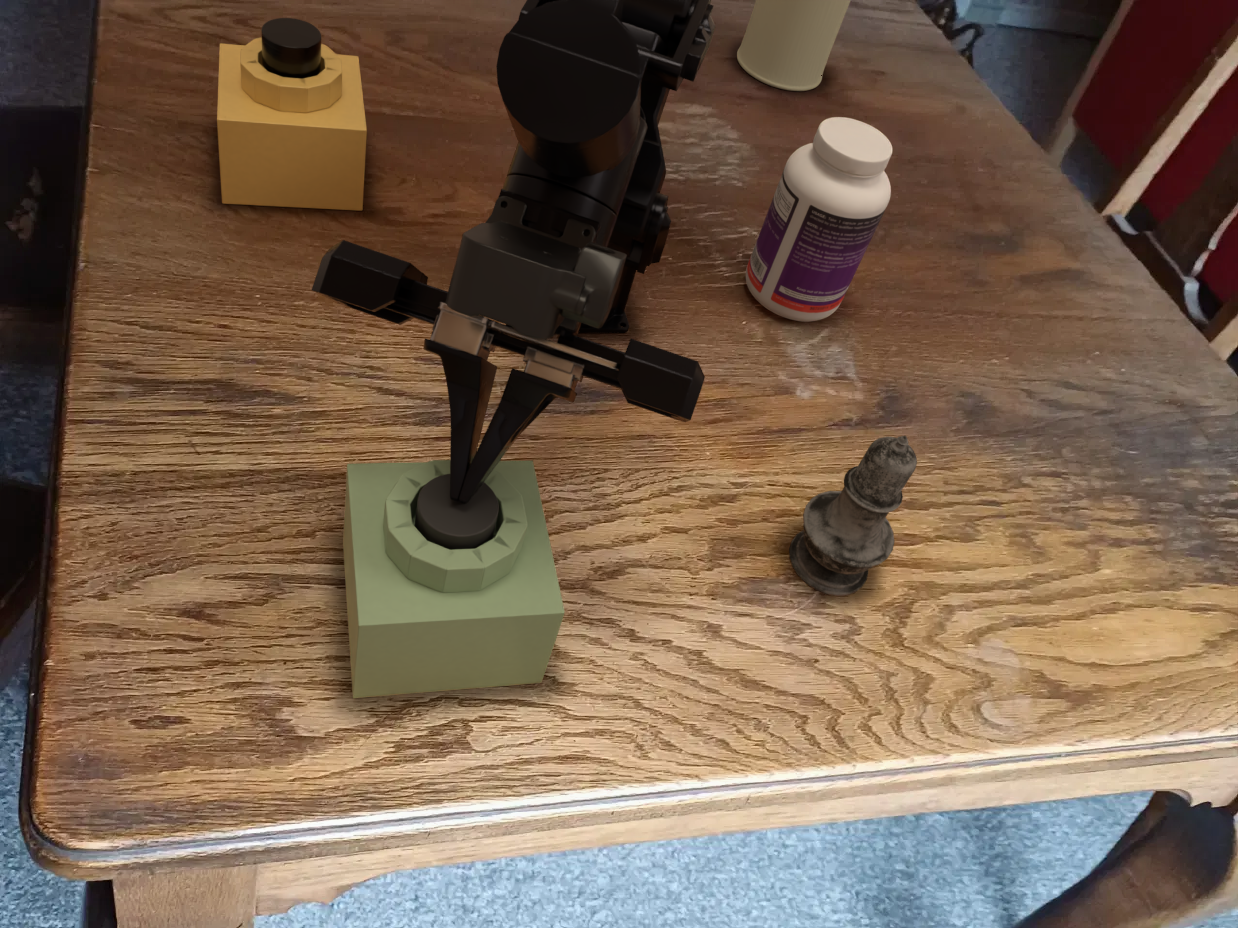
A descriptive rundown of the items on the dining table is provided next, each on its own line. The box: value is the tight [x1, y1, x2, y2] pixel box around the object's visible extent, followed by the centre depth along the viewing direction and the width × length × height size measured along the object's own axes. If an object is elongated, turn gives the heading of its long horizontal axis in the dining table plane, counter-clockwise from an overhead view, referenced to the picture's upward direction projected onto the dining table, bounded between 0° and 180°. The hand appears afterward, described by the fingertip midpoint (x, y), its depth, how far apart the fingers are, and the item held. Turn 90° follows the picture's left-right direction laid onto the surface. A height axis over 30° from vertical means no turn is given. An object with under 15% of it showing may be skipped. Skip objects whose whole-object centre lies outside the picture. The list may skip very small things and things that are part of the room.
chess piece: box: [788, 435, 918, 597], centre depth 64 cm, size 6×6×12 cm
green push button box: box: [342, 459, 566, 699], centre depth 57 cm, size 10×10×9 cm
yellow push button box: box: [216, 36, 368, 212], centre depth 80 cm, size 10×10×9 cm
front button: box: [414, 474, 499, 550], centre depth 54 cm, size 4×4×2 cm
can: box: [736, 0, 852, 92], centre depth 108 cm, size 9×9×12 cm
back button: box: [260, 17, 322, 79], centre depth 76 cm, size 4×4×3 cm
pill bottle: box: [745, 116, 893, 323], centre depth 81 cm, size 8×8×14 cm
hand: (458, 501), depth 53 cm, fingers closed, pressing on front button
